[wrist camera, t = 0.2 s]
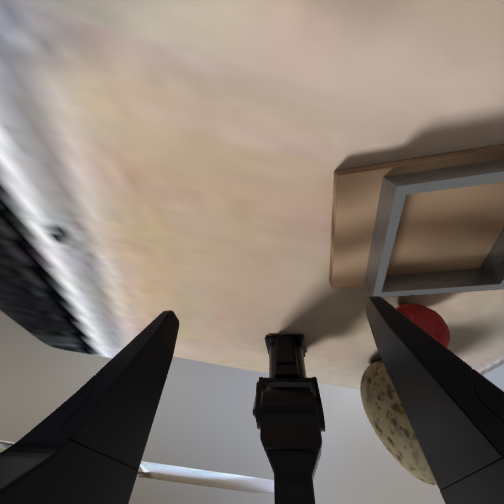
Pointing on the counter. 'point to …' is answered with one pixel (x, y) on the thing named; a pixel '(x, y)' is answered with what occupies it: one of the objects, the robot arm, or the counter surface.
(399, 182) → the square metal frame
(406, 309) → the onion
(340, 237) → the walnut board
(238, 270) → the counter surface
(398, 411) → the decorative egg
